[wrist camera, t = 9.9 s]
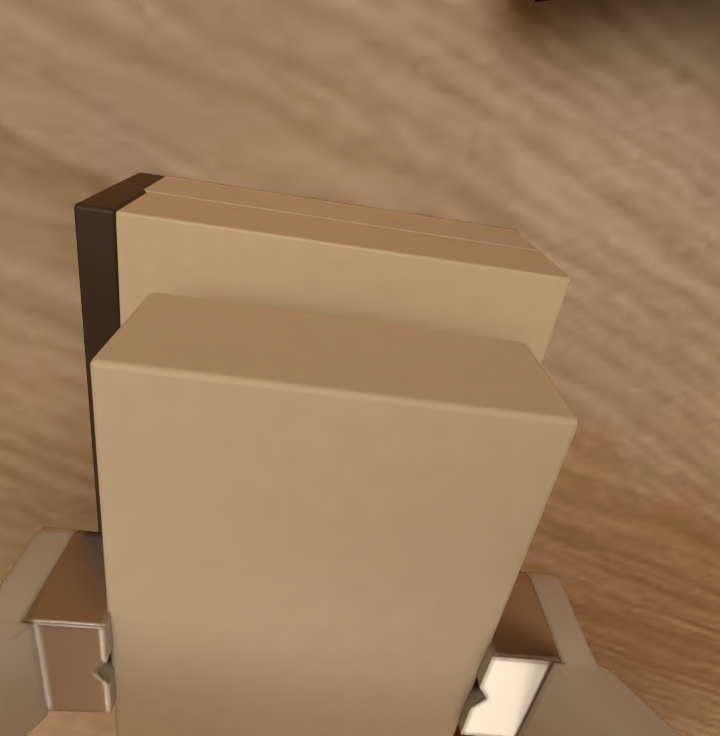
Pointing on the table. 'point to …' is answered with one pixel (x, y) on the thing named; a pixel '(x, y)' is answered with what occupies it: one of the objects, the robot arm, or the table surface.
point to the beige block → (311, 515)
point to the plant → (457, 732)
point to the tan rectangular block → (304, 263)
